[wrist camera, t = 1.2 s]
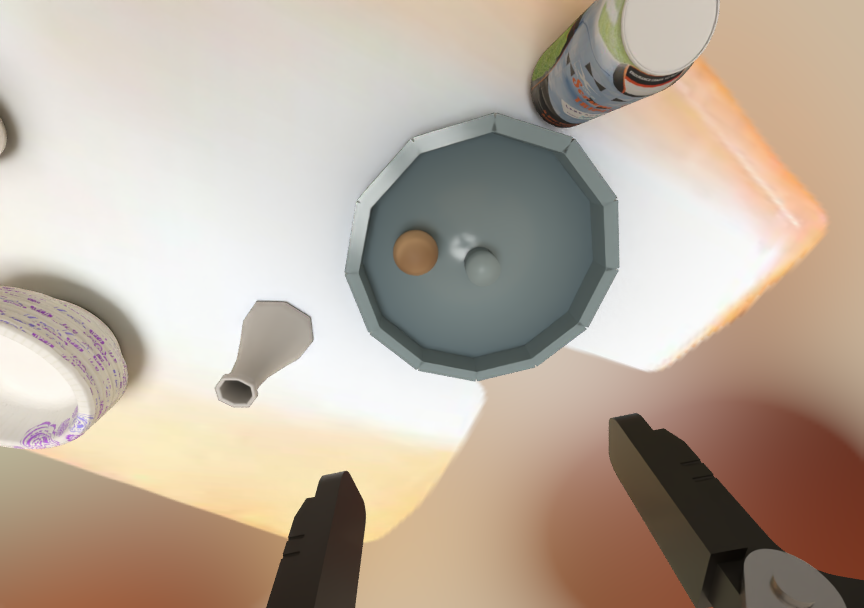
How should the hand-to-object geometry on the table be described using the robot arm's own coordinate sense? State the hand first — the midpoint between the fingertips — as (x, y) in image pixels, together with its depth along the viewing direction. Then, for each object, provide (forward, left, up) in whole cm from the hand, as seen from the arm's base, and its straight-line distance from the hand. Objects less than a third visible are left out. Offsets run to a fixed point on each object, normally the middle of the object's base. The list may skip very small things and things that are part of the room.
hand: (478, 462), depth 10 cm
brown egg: (0, -2, -24) cm, 24 cm away
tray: (+3, +4, -25) cm, 25 cm away
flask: (+5, -18, -25) cm, 32 cm away
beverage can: (-10, +14, -25) cm, 30 cm away
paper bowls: (0, -39, -25) cm, 47 cm away
